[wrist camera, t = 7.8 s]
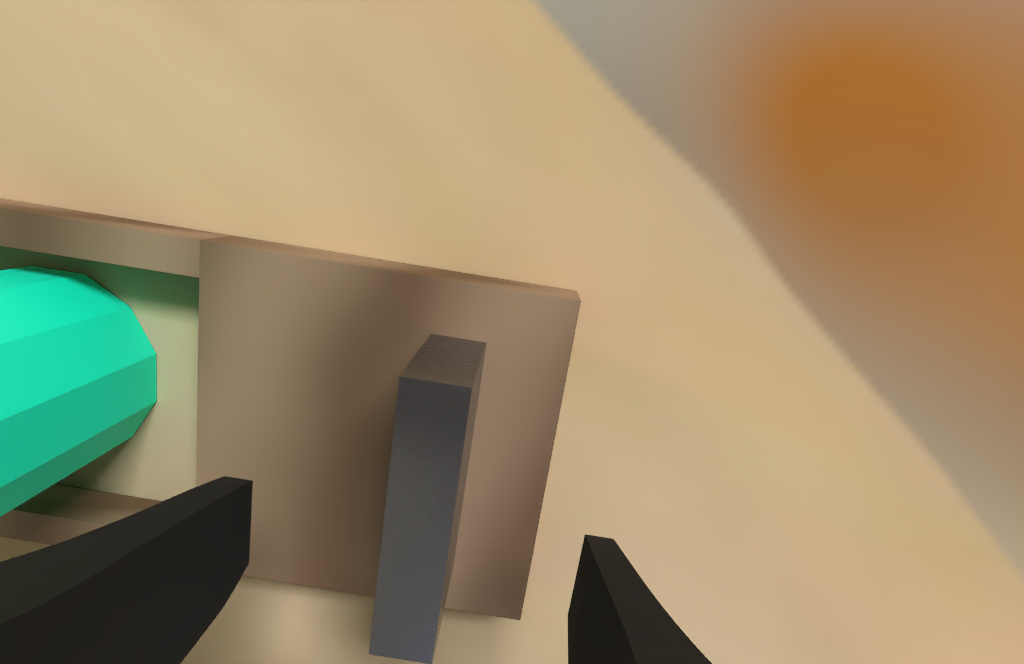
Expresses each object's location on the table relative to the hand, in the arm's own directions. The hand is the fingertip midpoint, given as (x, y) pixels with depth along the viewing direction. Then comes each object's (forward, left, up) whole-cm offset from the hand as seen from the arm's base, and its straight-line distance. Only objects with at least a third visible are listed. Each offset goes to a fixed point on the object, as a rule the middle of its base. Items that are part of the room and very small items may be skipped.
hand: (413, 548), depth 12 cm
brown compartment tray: (0, +7, -6) cm, 9 cm away
